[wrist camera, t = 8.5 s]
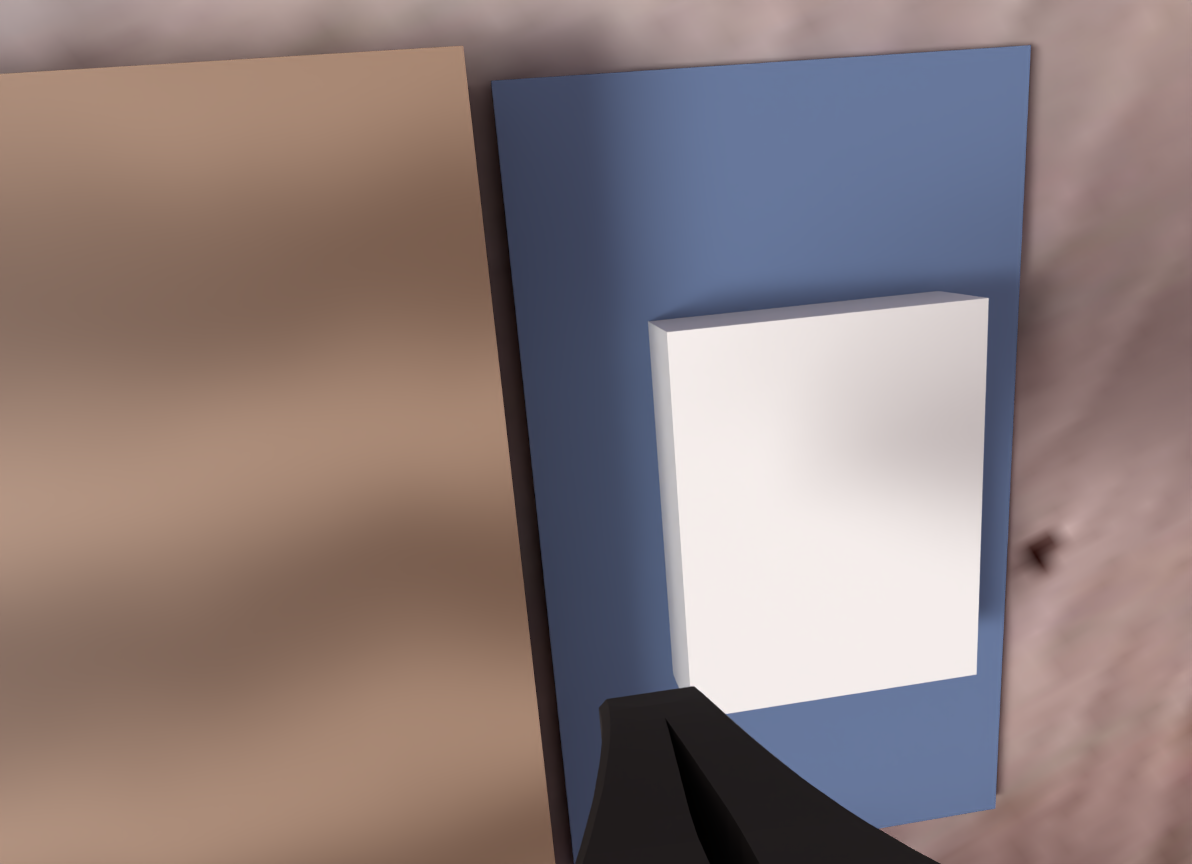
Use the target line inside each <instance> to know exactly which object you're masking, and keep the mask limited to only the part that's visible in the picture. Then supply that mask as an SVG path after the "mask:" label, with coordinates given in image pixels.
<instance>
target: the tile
mask: <svg viewBox="0 0 1192 864" xmlns="http://www.w3.org/2000/svg"><path fill="white" fill-rule="evenodd" d="M988 304H989V298H985V297H978V296H971V295H964V294H957V293H950V292H943V291H933V292H924V293H914V294H905V295H895V296H886V297H876V298H866V299H857V300H847V301H838V302H828V303H819V304H809V305H800V306H790V307H781V308H771V309H761V310H752V311H742V312H733V313H723V314H714V315H704V316H695V317H685V318H675V319H666V320H656V321H648V329H649V343H650V357H651V371H652V385H653V399H654V413H655V427H656V441H657V455H658V469H659V483H660V497H661V511H662V525H663V539H664V553H665V567H666V581H667V595H668V609H669V623H670V637H671V651H672V665H673V675H674V677H675V680H676V682H677V684H678V687H679V688H684V687H691V686H695V687H696V688H697V689H698V690H699V691H701V692H702V693H703V694H704V695H705V696H706V697H707V698H709V699H710V700H711V701H712V702H713V703H714V704H715V705H716V706H717V707H718V708H720V709H721V710H722V711H723V712H724V713H725V714H729V713H735V712H742V711H748V710H754V709H761V708H767V707H773V706H780V705H786V704H792V703H799V702H805V701H811V700H818V699H824V698H830V697H837V696H843V695H849V694H856V693H862V692H868V691H875V690H881V689H887V688H894V687H900V686H906V685H913V684H919V683H926V682H932V681H938V680H945V679H951V678H957V677H964V676H970V675H976V674H977V643H978V612H979V582H980V551H981V520H982V489H983V458H984V427H985V396H986V366H987V335H988Z"/></svg>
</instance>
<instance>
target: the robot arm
mask: <svg viewBox="0 0 1192 864" xmlns="http://www.w3.org/2000/svg"><path fill="white" fill-rule="evenodd" d="M599 718H600V729H601V739H602V744H601V754H600V763H599V769H598V774H597V780H596V786H595V791H594V797H593V801H592V805H591V809H590V813H589V817H588V820H587V824H586V828H585V831H584V835H583V839H582V842H581V846H580V849H579V853H578V856H577V859H576V862H575V864H940V863H938V862H936V861H934V860H932V859H930V858H929V857H927V856H925V855H923V854H921V853H919V852H917V851H915V850H914V849H912V848H910V847H908V846H907V845H905V844H903V843H902V842H900V841H898V840H896V839H895V838H893V837H891V836H890V835H888V834H886V833H884V832H883V831H881V830H879V829H878V828H876V827H874V826H873V825H871V824H869V823H867V822H866V821H864V820H863V819H861V818H860V817H858V816H856V815H855V814H853V813H852V812H850V811H849V810H847V809H846V808H844V807H843V806H841V805H840V804H838V803H837V802H835V801H834V800H833V799H831V798H830V797H828V796H827V795H825V794H824V793H823V792H821V791H820V790H818V789H817V788H815V787H814V786H813V785H811V784H810V783H808V782H807V781H806V780H804V779H803V778H802V777H800V776H799V775H798V774H796V773H795V772H794V771H793V770H791V769H790V768H789V767H788V766H787V765H785V764H784V763H783V762H782V761H780V760H779V759H778V758H777V757H775V756H774V755H773V754H772V753H770V752H769V751H768V750H767V749H765V748H764V747H763V746H762V745H761V744H759V743H758V742H757V741H756V740H755V739H754V738H752V737H751V736H750V735H749V734H748V733H747V732H745V731H744V730H743V729H742V728H741V727H740V726H739V725H737V724H736V723H735V722H734V721H733V720H732V719H731V718H730V717H728V716H727V715H726V714H725V713H724V712H723V711H722V710H721V709H720V708H718V707H717V706H716V705H715V704H714V703H713V702H712V701H711V700H710V699H709V698H707V697H706V696H705V695H704V694H703V693H702V692H701V691H699V690H698V689H697V688H696V687H695V686H691V687H684V688H677V689H671V690H664V691H657V692H650V693H644V694H637V695H630V696H624V697H617V698H610V699H606V700H605V701H604V702H603V703H602V705H601V706H600V707H599Z"/></svg>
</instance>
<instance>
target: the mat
mask: <svg viewBox="0 0 1192 864" xmlns="http://www.w3.org/2000/svg"><path fill="white" fill-rule="evenodd" d="M1030 52H1031V45H1028V46H1012V47H997V48H982V49H967V50H952V51H936V52H921V53H906V54H891V55H876V56H860V57H845V58H830V59H815V60H800V61H784V62H769V63H754V64H739V65H724V66H708V67H693V68H678V69H663V70H648V71H632V72H617V73H602V74H587V75H572V76H556V77H541V78H526V79H511V80H496V81H491V87H492V96H493V106H494V115H495V125H496V134H497V144H498V153H499V162H500V172H501V181H502V191H503V200H504V210H505V219H506V228H507V238H508V247H509V257H510V266H511V276H512V285H513V294H514V304H515V313H516V323H517V332H518V342H519V351H520V360H521V370H522V379H523V389H524V398H525V408H526V417H527V427H528V436H529V445H530V455H531V464H532V474H533V483H534V493H535V502H536V511H537V521H538V530H539V540H540V549H541V559H542V568H543V577H544V587H545V596H546V606H547V615H548V625H549V634H550V643H551V653H552V662H553V672H554V681H555V691H556V700H557V709H558V719H559V728H560V738H561V747H562V757H563V766H564V776H565V785H566V794H567V804H568V813H569V823H570V832H571V842H572V851H573V860H574V864H575V862H576V859H577V856H578V853H579V849H580V846H581V842H582V839H583V835H584V831H585V828H586V824H587V820H588V817H589V813H590V809H591V805H592V801H593V797H594V791H595V786H596V780H597V774H598V769H599V763H600V754H601V744H602V739H601V729H600V718H599V707H600V706H601V705H602V703H603V702H604V701H605V700H606V699H610V698H617V697H624V696H630V695H637V694H644V693H650V692H657V691H664V690H671V689H677V688H679V687H678V684H677V682H676V680H675V677H674V675H673V665H672V651H671V637H670V623H669V609H668V595H667V581H666V567H665V553H664V539H663V525H662V511H661V497H660V483H659V469H658V455H657V441H656V427H655V413H654V399H653V385H652V371H651V357H650V343H649V329H648V321H656V320H666V319H675V318H685V317H695V316H704V315H714V314H723V313H733V312H742V311H752V310H761V309H771V308H781V307H790V306H800V305H809V304H819V303H828V302H838V301H847V300H857V299H866V298H876V297H886V296H895V295H905V294H914V293H924V292H933V291H943V292H950V293H957V294H964V295H971V296H978V297H985V298H989V304H988V335H987V366H986V396H985V427H984V458H983V489H982V520H981V551H980V582H979V612H978V643H977V674H976V675H970V676H964V677H957V678H951V679H945V680H938V681H932V682H926V683H919V684H913V685H906V686H900V687H894V688H887V689H881V690H875V691H868V692H862V693H856V694H849V695H843V696H837V697H830V698H824V699H818V700H811V701H805V702H799V703H792V704H786V705H780V706H773V707H767V708H761V709H754V710H748V711H742V712H735V713H729V714H726V715H727V716H728V717H730V718H731V719H732V720H733V721H734V722H735V723H736V724H737V725H739V726H740V727H741V728H742V729H743V730H744V731H745V732H747V733H748V734H749V735H750V736H751V737H752V738H754V739H755V740H756V741H757V742H758V743H759V744H761V745H762V746H763V747H764V748H765V749H767V750H768V751H769V752H770V753H772V754H773V755H774V756H775V757H777V758H778V759H779V760H780V761H782V762H783V763H784V764H785V765H787V766H788V767H789V768H790V769H791V770H793V771H794V772H795V773H796V774H798V775H799V776H800V777H802V778H803V779H804V780H806V781H807V782H808V783H810V784H811V785H813V786H814V787H815V788H817V789H818V790H820V791H821V792H823V793H824V794H825V795H827V796H828V797H830V798H831V799H833V800H834V801H835V802H837V803H838V804H840V805H841V806H843V807H844V808H846V809H847V810H849V811H850V812H852V813H853V814H855V815H856V816H858V817H860V818H861V819H863V820H864V821H866V822H867V823H869V824H871V825H873V826H874V827H876V828H884V827H890V826H896V825H902V824H908V823H913V822H919V821H925V820H931V819H937V818H943V817H948V816H954V815H960V814H966V813H972V812H977V811H983V810H989V809H995V802H996V781H997V759H998V738H999V716H1000V695H1001V674H1002V652H1003V631H1004V609H1005V588H1006V566H1007V545H1008V524H1009V502H1010V481H1011V459H1012V438H1013V417H1014V395H1015V374H1016V352H1017V331H1018V309H1019V288H1020V267H1021V245H1022V224H1023V202H1024V181H1025V160H1026V138H1027V117H1028V95H1029V74H1030Z"/></svg>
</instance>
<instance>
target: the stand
mask: <svg viewBox="0 0 1192 864" xmlns="http://www.w3.org/2000/svg"><path fill="white" fill-rule="evenodd" d="M0 864H555V856H554V847H553V838H552V829H551V820H550V812H549V803H548V794H547V785H546V776H545V767H544V758H543V749H542V741H541V732H540V723H539V714H538V705H537V696H536V687H535V679H534V670H533V661H532V652H531V643H530V634H529V625H528V616H527V608H526V599H525V590H524V581H523V572H522V563H521V554H520V545H519V537H518V528H517V519H516V510H515V501H514V492H513V483H512V475H511V466H510V457H509V448H508V439H507V430H506V421H505V412H504V404H503V395H502V386H501V377H500V368H499V359H498V350H497V342H496V333H495V324H494V315H493V306H492V297H491V288H490V279H489V271H488V262H487V253H486V244H485V235H484V226H483V217H482V208H481V200H480V191H479V182H478V173H477V164H476V155H475V146H474V138H473V129H472V120H471V111H470V102H469V93H468V84H467V75H466V67H465V58H464V49H463V46H450V47H433V48H417V49H401V50H384V51H368V52H351V53H335V54H319V55H302V56H286V57H270V58H253V59H237V60H220V61H204V62H188V63H171V64H155V65H138V66H122V67H106V68H89V69H73V70H56V71H40V72H24V73H7V74H0Z"/></svg>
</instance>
